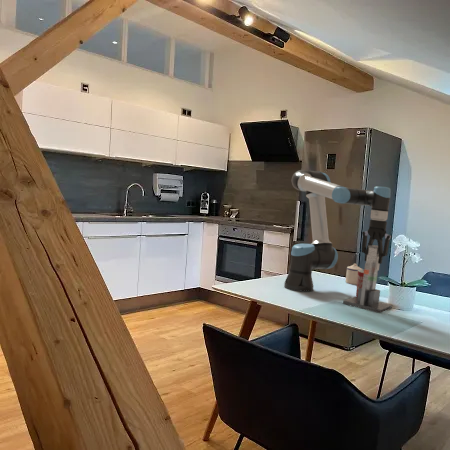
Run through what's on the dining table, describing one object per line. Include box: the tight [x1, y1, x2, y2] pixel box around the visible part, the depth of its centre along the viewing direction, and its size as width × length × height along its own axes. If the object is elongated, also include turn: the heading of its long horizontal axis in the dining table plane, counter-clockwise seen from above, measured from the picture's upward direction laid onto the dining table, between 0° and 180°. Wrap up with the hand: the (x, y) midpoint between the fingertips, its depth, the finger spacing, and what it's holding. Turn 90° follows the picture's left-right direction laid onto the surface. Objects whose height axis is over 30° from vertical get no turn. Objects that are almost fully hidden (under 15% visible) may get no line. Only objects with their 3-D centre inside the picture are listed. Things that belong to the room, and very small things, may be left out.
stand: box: [342, 262, 393, 314], centre depth 215 cm, size 18×15×21 cm
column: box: [367, 244, 379, 291], centre depth 215 cm, size 5×5×23 cm
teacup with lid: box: [345, 263, 363, 286], centre depth 273 cm, size 12×9×12 cm
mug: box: [355, 269, 364, 297], centre depth 236 cm, size 13×9×14 cm
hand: (372, 269), depth 215 cm, fingers closed on column, 4 cm apart
